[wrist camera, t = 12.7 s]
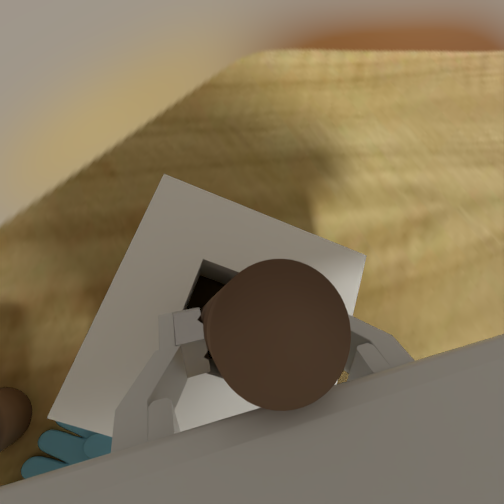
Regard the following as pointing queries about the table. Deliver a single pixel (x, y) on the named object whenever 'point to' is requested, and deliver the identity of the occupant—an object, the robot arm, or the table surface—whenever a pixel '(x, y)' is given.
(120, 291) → the hole block
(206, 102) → the table surface
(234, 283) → the long pin
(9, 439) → the short pin
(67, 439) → the blue yellow bird figure
